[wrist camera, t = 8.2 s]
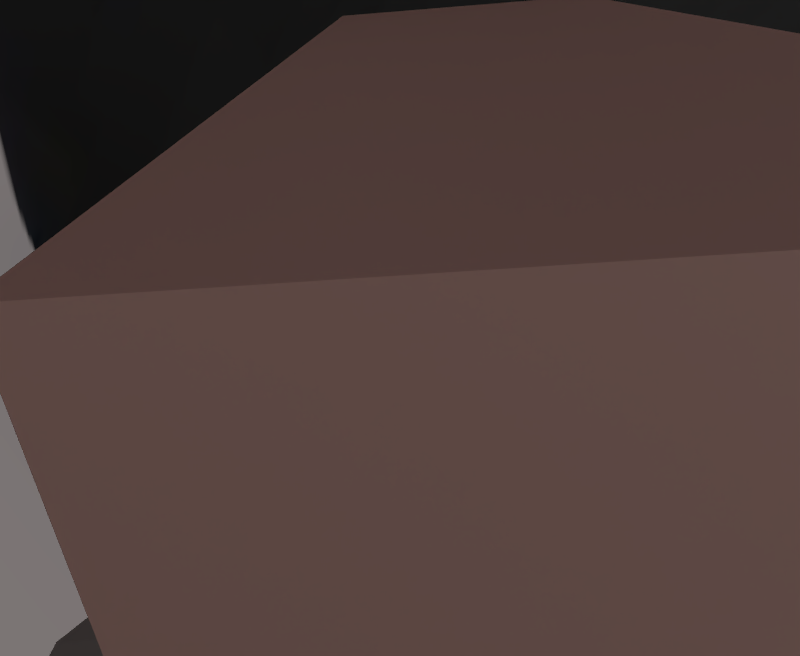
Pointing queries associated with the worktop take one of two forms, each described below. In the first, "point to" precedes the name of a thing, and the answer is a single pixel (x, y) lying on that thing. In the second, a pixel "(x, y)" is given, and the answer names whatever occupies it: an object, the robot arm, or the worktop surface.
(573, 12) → the boxed book
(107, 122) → the worktop surface
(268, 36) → the worktop surface
